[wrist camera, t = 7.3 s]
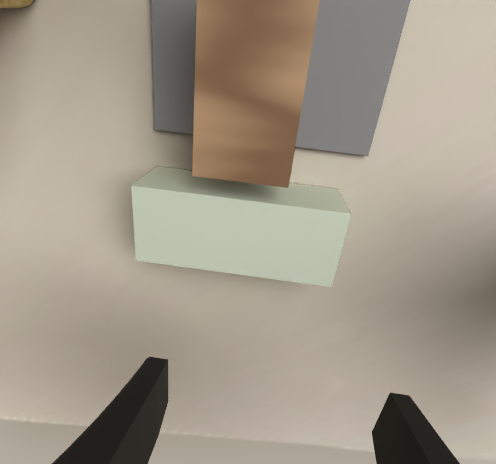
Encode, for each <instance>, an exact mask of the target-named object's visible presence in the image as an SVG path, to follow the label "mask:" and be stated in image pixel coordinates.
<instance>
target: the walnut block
mask: <svg viewBox="0 0 496 464" xmlns="http://www.w3.org/2000/svg"><path fill="white" fill-rule="evenodd" d="M319 1H320V0H197V15H196V52H195V89H194V125H193V162H192V176H198V177H206V178H213V179H221V180H229V181H237V182H245V183H253V184H261V185H269V186H277V187H284V188H288V186H289V180H290V175H291V169H292V163H293V157H294V151H295V145H296V139H297V133H298V127H299V121H300V115H301V109H302V103H303V97H304V91H305V85H306V79H307V73H308V67H309V61H310V55H311V49H312V43H313V37H314V31H315V25H316V19H317V13H318V7H319Z"/></svg>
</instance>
